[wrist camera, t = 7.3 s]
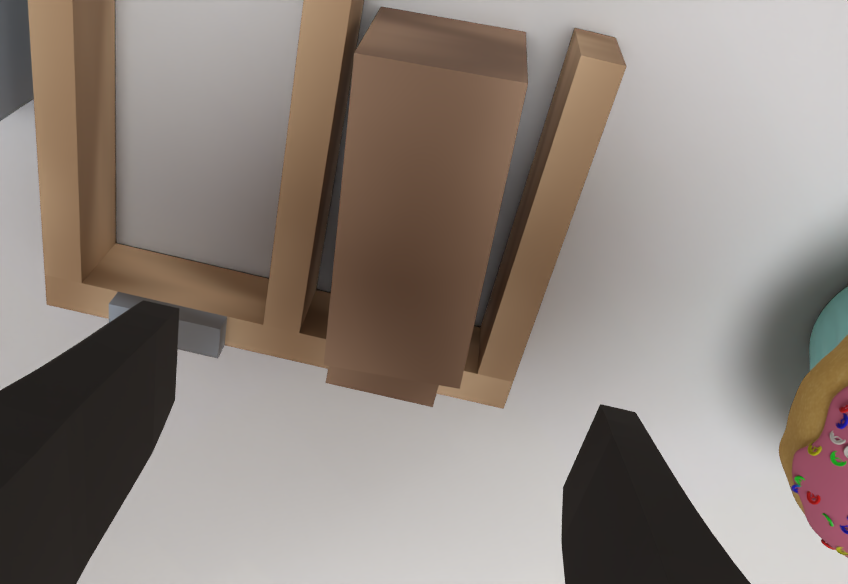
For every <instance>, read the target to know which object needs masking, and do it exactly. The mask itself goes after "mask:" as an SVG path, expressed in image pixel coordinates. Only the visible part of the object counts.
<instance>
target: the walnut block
mask: <svg viewBox="0 0 848 584" xmlns="http://www.w3.org/2000/svg"><path fill="white" fill-rule="evenodd" d="M527 86H528V73H527V51H526V32H523V31H517V30H511V29H506V28H500V27H494V26H489V25H483V24H477V23H472V22H466V21H460V20H454V19H449V18H443V17H437V16H432V15H426V14H420V13H415V12H409V11H403V10H398V9H392V8H386V7H381V8H380V9H379V11H378V13H377V15H376V16H375V18H374V20H373V21H372V23H371V25H370V27H369V28H368V30H367V32H366V34H365V35H364V37H363V39H362V41H361V42H360V44H359V46H358V47H357V49H356V51H355V53H354V61H353V71H352V82H351V92H350V102H349V112H348V122H347V132H346V143H345V153H344V163H343V173H342V183H341V194H340V204H339V214H338V224H337V234H336V244H335V255H334V265H333V275H332V285H331V295H330V306H329V316H328V326H327V336H326V346H325V356H324V365H326V366H332V367H338V368H344V369H349V370H355V371H361V372H366V373H372V374H378V375H383V376H389V377H395V378H401V379H406V380H412V381H418V382H423V383H429V384H435V385H441V386H446V387H452V388H458V389H460V386H461V381H462V377H463V372H464V368H465V363H466V359H467V354H468V350H469V345H470V341H471V336H472V332H473V327H474V323H475V318H476V314H477V310H478V305H479V301H480V296H481V292H482V287H483V283H484V278H485V274H486V269H487V265H488V260H489V256H490V251H491V247H492V242H493V238H494V233H495V229H496V224H497V220H498V215H499V211H500V206H501V202H502V198H503V193H504V189H505V184H506V180H507V175H508V171H509V166H510V162H511V157H512V153H513V148H514V144H515V139H516V135H517V130H518V126H519V121H520V117H521V112H522V108H523V103H524V99H525V95H526V90H527Z"/></svg>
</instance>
